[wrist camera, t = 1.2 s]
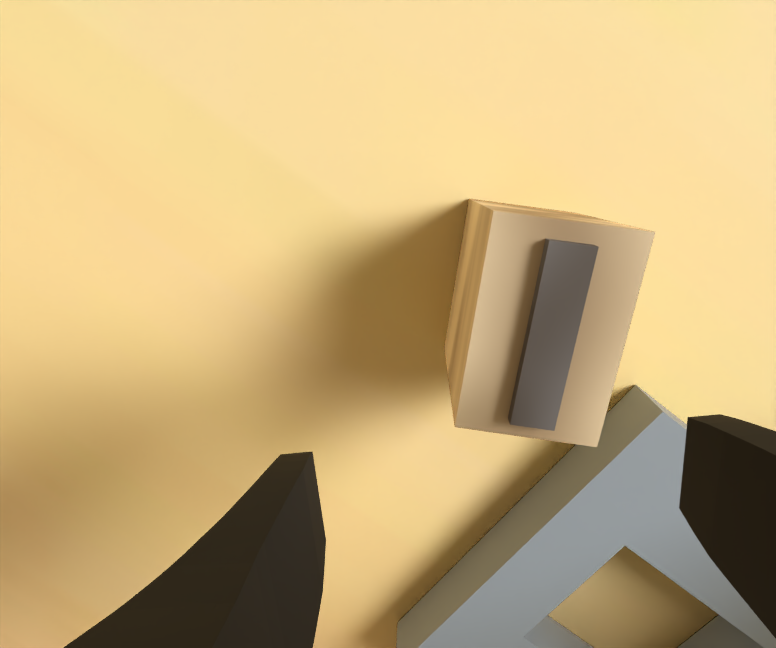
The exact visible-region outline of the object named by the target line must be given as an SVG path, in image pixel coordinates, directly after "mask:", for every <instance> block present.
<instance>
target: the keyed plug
mask: <svg viewBox="0 0 776 648" xmlns="http://www.w3.org/2000/svg"><path fill="white" fill-rule="evenodd" d="M654 235H655V232H653V231H649V230H645V229H640V228H636V227H632V226H628V225H624V224H620V223H615V222H611V221H607V220H603V219H599V218H595V217H591V216H586V215H582V214H578V213H573V212H566V211H558V210H551V209H543V208H535V207H528V206H520V205H513V204H505V203H497V202H490V201H482V200H475V199H469V201H468V207H467V213H466V219H465V225H464V231H463V237H462V243H461V249H460V255H459V261H458V267H457V273H456V279H455V286H454V292H453V298H452V304H451V310H450V316H449V322H448V328H447V334H446V340H445V346H444V350H445V357H446V365H447V372H448V380H449V388H450V395H451V403H452V410H453V418H454V425H455V427H458V428H465V429H472V430H479V431H486V432H493V433H500V434H507V435H514V436H521V437H528V438H535V439H542V440H549V441H556V442H563V443H570V444H577V445H584V446H591V447H597V446H598V442H599V438H600V435H601V431H602V427H603V424H604V420H605V416H606V412H607V409H608V405H609V401H610V398H611V394H612V390H613V386H614V383H615V379H616V375H617V372H618V368H619V364H620V361H621V357H622V353H623V349H624V346H625V342H626V338H627V335H628V331H629V327H630V324H631V320H632V316H633V312H634V309H635V305H636V301H637V298H638V294H639V290H640V287H641V283H642V279H643V275H644V272H645V268H646V264H647V261H648V257H649V253H650V249H651V246H652V242H653V238H654Z"/></svg>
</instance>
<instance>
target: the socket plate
mask: <svg viewBox="0 0 776 648" xmlns="http://www.w3.org/2000/svg"><path fill="white" fill-rule="evenodd" d="M686 431H687V425H686V424H685V423H684V422H682V421H681V420H680V419H679V418H677V417H676V416H675V415H673V414H672V413H671V412H670V411H668V410H667V409H666V408H665V407H663V406H662V405H661V404H659V403H658V402H657V401H656V400H654V399H653V398H652V397H651V396H649V395H648V394H647V393H646V392H644V391H643V390H642V389H640V388H639V387H638V386H637V385H635V386H634V387H633V388H632V389H631V390H630V391H629V392H628V393H627V394H626V395H625V396H624V397H623V398H622V399H621V400H620V401H619V402H618V403H617V404H616V405H615V406H614V407H613V408H612V409H611V410H610V411H609V412H608V413H607V414H606V416H605V420H604V424H603V427H602V431H601V435H600V438H599V442H598V446H597V447H591V446H584V445H577V444H576V445H575V446H574V447H573V448H572V449H571V450H570V451H569V452H568V453H567V454H566V455H565V456H564V457H563V458H562V459H561V460H560V461H559V462H558V463H557V464H556V465H555V466H554V467H553V468H552V469H551V470H550V471H549V472H548V473H547V474H546V475H545V476H544V477H543V478H542V479H541V480H540V481H539V482H538V483H537V484H536V485H535V486H534V487H533V488H532V489H531V490H530V491H529V492H528V493H527V494H526V495H525V496H524V497H523V498H522V499H521V500H520V501H519V502H518V503H517V504H516V505H515V506H514V507H513V508H512V509H511V510H510V511H509V512H508V513H507V514H506V515H505V516H504V517H503V518H502V519H501V520H500V521H499V522H498V523H497V524H496V525H495V526H494V527H493V528H492V529H491V530H490V531H489V532H488V533H487V534H486V535H485V536H484V537H483V538H482V539H481V540H480V541H479V542H478V543H477V544H476V545H475V546H474V547H473V548H472V549H471V550H470V551H469V552H468V553H467V554H466V555H465V556H464V557H463V558H462V559H461V560H460V561H459V562H458V563H457V564H456V565H455V566H454V567H453V568H452V569H451V570H450V571H449V572H448V573H447V574H446V575H445V576H444V577H443V578H442V579H441V580H440V581H439V582H438V583H437V584H436V585H435V586H434V587H433V588H432V589H431V590H430V591H429V592H428V593H427V594H426V595H425V596H424V597H423V598H422V599H421V600H420V601H419V602H418V603H417V604H416V605H415V606H414V607H413V608H412V609H411V610H410V611H409V612H408V613H407V614H406V615H405V616H404V617H403V618H402V619H401V620H400V621H399V622H398V624H397V643H396V648H593V647H592V646H591V645H589V644H588V643H586V642H585V641H583V640H582V639H580V638H579V637H578V636H576V635H575V634H573V633H572V632H570V631H569V630H568V629H566V628H565V627H563V626H562V625H560V624H559V623H557V622H556V621H555V620H553V619H552V618H550V617H549V616H547V615H548V614H549V613H550V612H551V611H553V610H554V609H555V608H556V607H557V606H558V605H559V604H560V603H562V602H563V601H564V600H565V599H566V598H567V597H568V596H569V595H570V594H572V593H573V592H574V591H575V590H576V589H577V588H578V587H579V586H581V585H582V584H583V583H584V582H585V581H586V580H587V579H588V578H589V577H591V576H592V575H593V574H594V573H595V572H596V571H597V570H598V569H600V568H601V567H602V566H603V565H604V564H605V563H606V562H607V561H608V560H610V559H611V558H612V557H613V556H614V555H615V554H616V553H617V552H619V551H620V550H621V549H622V548H623V547H624V546H626V547H627V548H629V549H630V550H631V551H633V552H634V553H636V554H637V555H638V556H640V557H641V558H642V559H644V560H645V561H646V562H648V563H649V564H651V565H652V566H653V567H655V568H656V569H657V570H659V571H660V572H661V573H663V574H664V575H666V576H667V577H668V578H670V579H671V580H672V581H674V582H675V583H676V584H678V585H679V586H681V587H682V588H683V589H685V590H686V591H687V592H689V593H690V594H691V595H693V596H694V597H696V598H697V599H698V600H700V601H701V602H702V603H704V604H705V605H706V606H708V607H709V608H711V609H712V610H713V611H715V612H716V613H717V614H719V615H718V616H717V617H715V618H714V619H713V620H712V621H710V622H709V623H708V624H707V625H705V626H704V627H703V628H702V629H700V630H699V631H698V632H696V633H695V634H694V635H693V636H691V637H690V638H689V639H688V640H686V641H685V642H684V643H683V644H681V645H680V646H679V647H678V648H776V638H775V637H774V636H773V635H772V634H771V632H770V631H769V630H768V629H767V627H766V626H765V625H764V624H763V623H762V621H761V620H760V619H759V618H758V617H757V615H756V614H755V613H754V612H753V610H752V609H751V608H750V607H749V606H748V604H747V603H746V602H745V601H744V600H743V598H742V597H741V596H740V595H739V593H738V592H737V591H736V590H735V588H734V587H733V586H732V585H731V583H730V582H729V581H728V580H727V578H726V577H725V576H724V575H723V574H722V572H721V571H720V570H719V569H718V567H717V566H716V565H715V563H714V562H713V561H712V560H711V558H710V557H709V556H708V554H707V553H706V551H705V549H704V548H703V546H702V545H701V543H700V542H699V540H698V539H697V537H696V536H695V534H694V532H693V531H692V529H691V527H690V526H689V524H688V522H687V521H686V519H685V517H684V516H683V514H682V512H681V511H680V509H679V503H680V493H681V482H682V472H683V462H684V452H685V441H686Z"/></svg>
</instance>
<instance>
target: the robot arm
mask: <svg viewBox="0 0 776 648" xmlns="http://www.w3.org/2000/svg"><path fill="white" fill-rule="evenodd" d="M679 509H680V511H681V512H682V514H683V516H684V517H685V519H686V521H687V522H688V524H689V526H690V527H691V529H692V531H693V532H694V534H695V536H696V537H697V539H698V540H699V542H700V543H701V545H702V546H703V548H704V549H705V551H706V553H707V554H708V556H709V557H710V558H711V560H712V561H713V562H714V563H715V565H716V566H717V567H718V569H719V570H720V571H721V572H722V574H723V575H724V576H725V577H726V578H727V580H728V581H729V582H730V583H731V585H732V586H733V587H734V588H735V590H736V591H737V592H738V593H739V595H740V596H741V597H742V598H743V600H744V601H745V602H746V603H747V604H748V606H749V607H750V608H751V609H752V610H753V612H754V613H755V614H756V615H757V617H758V618H759V619H760V620H761V621H762V623H763V624H764V625H765V626H766V627H767V629H768V630H769V631H770V632H771V634H772V635H773V636H774V637H775V638H776V432H775V431H773V430H770V429H767V428H764V427H761V426H758V425H755V424H752V423H749V422H746V421H743V420H739V419H736V418H732V417H728V416H724V415H720V414H719V415H709V416H698V417H688V421H687V431H686V441H685V452H684V462H683V472H682V482H681V493H680V503H679ZM325 546H326V538H325V531H324V525H323V518H322V512H321V505H320V499H319V492H318V485H317V479H316V472H315V466H314V459H313V453H312V452H303V453H292V454H281V455H280V456H279V457H278V458H277V459H276V460H275V461H274V462H273V463H272V464H271V465H270V467H269V468H268V469H267V470H266V471H265V472H264V473H263V474H262V475H261V476H260V478H259V479H258V480H257V481H256V482H255V483H254V484H253V485H252V486H251V487H250V489H249V490H248V491H247V492H246V493H245V494H244V495H243V496H242V497H241V498H240V499H239V500H238V501H237V502H236V504H235V505H234V506H233V507H232V508H231V509H230V510H229V511H228V512H227V513H226V514H225V515H224V516H223V517H222V518H221V519H220V520H219V521H218V522H217V523H216V524H215V525H214V526H213V527H212V528H211V529H210V530H209V531H208V532H207V533H206V534H205V535H204V536H202V537H201V538H200V539H199V540H198V541H197V542H196V543H195V544H194V545H193V546H192V547H191V548H190V549H189V550H188V551H187V552H186V553H185V554H184V555H183V556H182V557H180V558H179V559H178V560H177V561H176V562H175V563H174V564H173V565H171V566H170V567H169V568H168V569H167V570H166V571H164V572H163V573H162V574H161V575H160V576H159V577H157V578H156V579H155V580H154V581H153V582H151V583H150V584H149V585H148V586H146V587H145V588H144V589H143V590H141V591H140V592H139V593H138V594H136V595H135V596H134V597H133V598H131V599H130V600H129V601H128V602H126V603H125V604H124V605H122V606H121V607H120V608H119V609H117V610H116V611H115V612H113V613H112V614H110V615H109V616H108V617H106V618H105V619H103V620H102V621H101V622H99V623H98V624H96V625H95V626H93V627H92V628H91V629H89V630H88V631H86V632H85V633H84V634H82V635H81V636H79V637H78V638H77V639H75V640H74V641H72V642H71V643H69V644H68V645H67V646H65V647H64V648H313V643H314V637H315V632H316V626H317V621H318V615H319V609H320V604H321V598H322V592H323V579H324V564H325Z"/></svg>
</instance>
